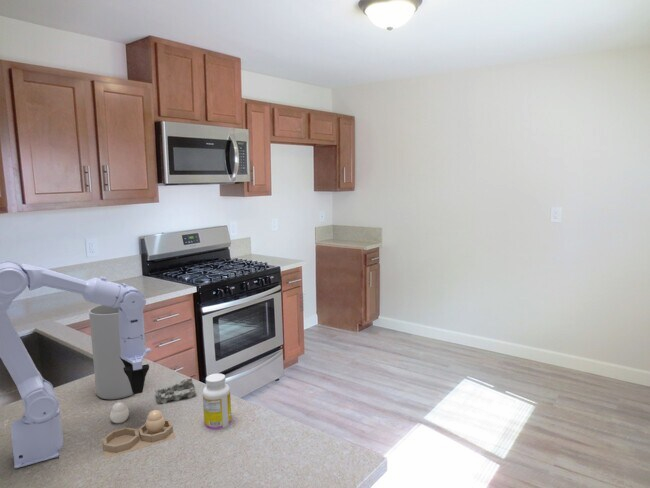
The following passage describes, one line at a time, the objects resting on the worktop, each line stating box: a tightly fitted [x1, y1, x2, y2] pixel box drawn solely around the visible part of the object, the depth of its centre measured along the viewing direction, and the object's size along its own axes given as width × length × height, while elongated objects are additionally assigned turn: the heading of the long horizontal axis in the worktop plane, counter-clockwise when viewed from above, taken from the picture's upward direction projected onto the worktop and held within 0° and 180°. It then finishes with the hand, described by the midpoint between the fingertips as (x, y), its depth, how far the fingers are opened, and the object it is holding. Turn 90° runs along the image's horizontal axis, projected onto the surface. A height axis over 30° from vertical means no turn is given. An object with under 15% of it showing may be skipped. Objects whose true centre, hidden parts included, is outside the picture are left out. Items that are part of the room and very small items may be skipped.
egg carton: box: [154, 378, 197, 404], centre depth 124 cm, size 11×8×4 cm
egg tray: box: [101, 418, 177, 459], centre depth 104 cm, size 15×9×2 cm, turn 120°
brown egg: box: [144, 409, 166, 435], centre depth 105 cm, size 4×4×6 cm
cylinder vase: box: [88, 304, 134, 400], centre depth 128 cm, size 12×12×25 cm
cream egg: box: [109, 401, 130, 424], centre depth 111 cm, size 4×4×6 cm
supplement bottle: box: [202, 373, 233, 430], centre depth 109 cm, size 7×7×13 cm
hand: (135, 386), depth 111 cm, fingers open, 7 cm apart
